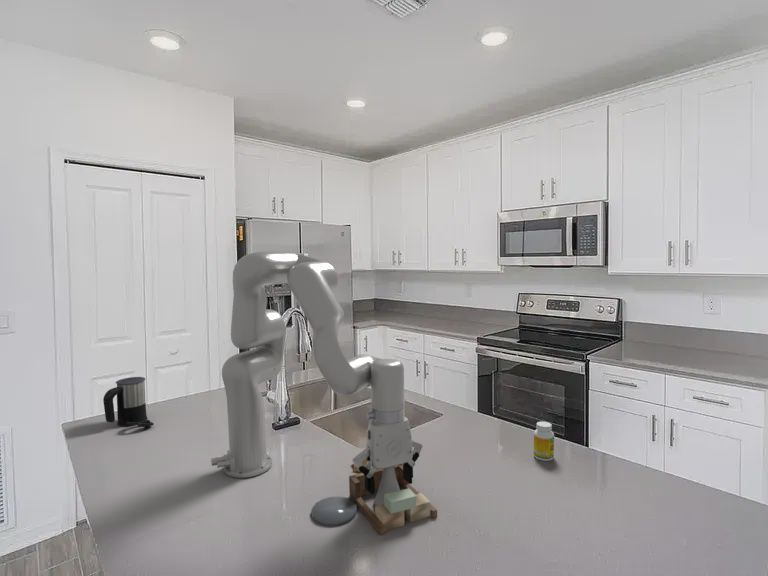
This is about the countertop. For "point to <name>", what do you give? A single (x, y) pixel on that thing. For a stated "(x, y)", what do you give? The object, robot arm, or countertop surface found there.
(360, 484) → the walnut rack
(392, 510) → the sage painted offcut block
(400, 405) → the robot arm
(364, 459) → the shard
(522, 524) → the countertop surface
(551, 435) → the supplement bottle
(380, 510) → the oak offcut block
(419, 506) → the birch offcut block
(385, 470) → the flask
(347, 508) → the disc
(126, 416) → the milk frother
